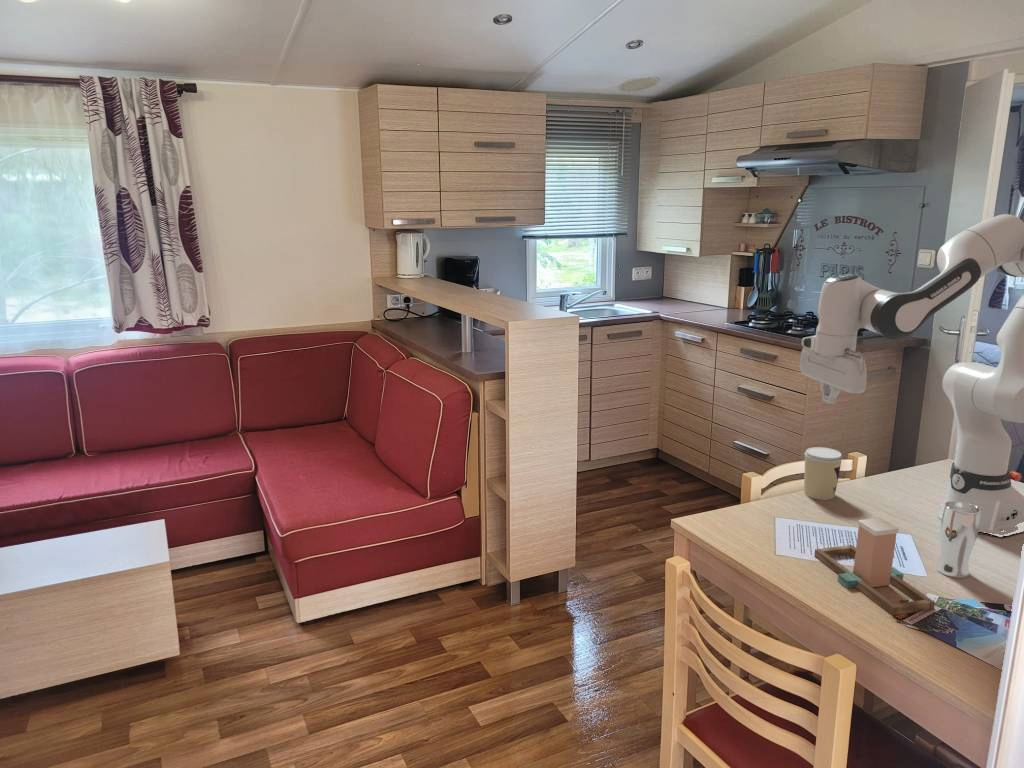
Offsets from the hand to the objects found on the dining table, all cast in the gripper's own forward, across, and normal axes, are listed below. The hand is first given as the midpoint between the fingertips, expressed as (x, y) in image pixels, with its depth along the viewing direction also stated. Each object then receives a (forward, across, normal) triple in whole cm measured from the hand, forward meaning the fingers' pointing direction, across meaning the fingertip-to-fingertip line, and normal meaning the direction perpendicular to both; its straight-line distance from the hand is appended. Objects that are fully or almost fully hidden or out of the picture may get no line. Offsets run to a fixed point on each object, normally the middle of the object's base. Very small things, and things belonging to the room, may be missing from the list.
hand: (829, 402), depth 177 cm
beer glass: (+31, -28, -14) cm, 44 cm away
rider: (+31, -28, +6) cm, 42 cm away
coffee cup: (+31, +16, -12) cm, 37 cm away
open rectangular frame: (+31, -28, +6) cm, 42 cm away
